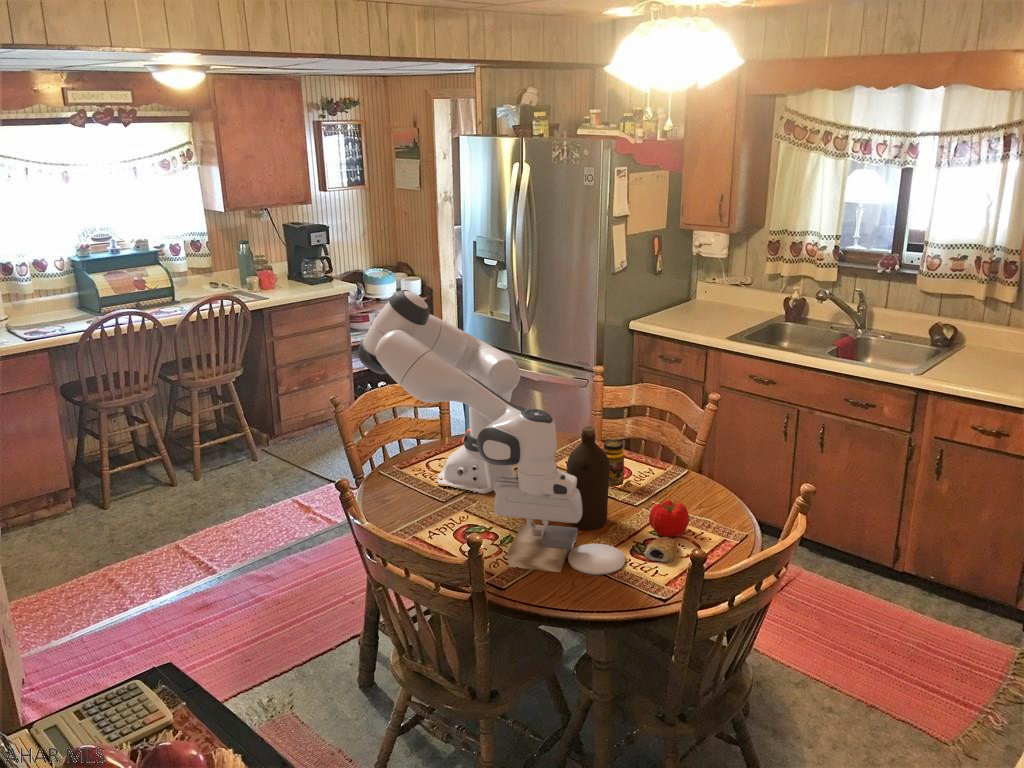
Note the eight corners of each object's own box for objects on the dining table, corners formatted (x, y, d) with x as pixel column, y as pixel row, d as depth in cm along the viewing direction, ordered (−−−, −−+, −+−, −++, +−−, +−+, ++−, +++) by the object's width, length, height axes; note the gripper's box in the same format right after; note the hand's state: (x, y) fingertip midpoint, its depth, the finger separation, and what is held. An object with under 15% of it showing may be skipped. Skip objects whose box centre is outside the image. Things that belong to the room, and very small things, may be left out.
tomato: (691, 528, 206) (692, 500, 204) (683, 544, 198) (684, 515, 196) (654, 522, 210) (654, 494, 208) (644, 537, 202) (645, 509, 200)
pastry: (656, 542, 200) (657, 527, 199) (684, 548, 197) (684, 534, 196) (642, 559, 192) (642, 544, 191) (670, 566, 189) (671, 551, 188)
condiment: (618, 490, 228) (619, 449, 225) (590, 484, 233) (590, 444, 229) (629, 481, 234) (630, 440, 231) (602, 475, 238) (602, 435, 235)
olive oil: (616, 527, 207) (617, 432, 200) (576, 534, 204) (576, 438, 197) (599, 509, 217) (599, 418, 210) (561, 516, 214) (560, 424, 207)
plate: (562, 571, 188) (562, 568, 187) (573, 544, 200) (573, 541, 199) (621, 577, 184) (621, 574, 184) (628, 549, 196) (628, 546, 196)
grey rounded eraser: (541, 546, 190) (541, 538, 190) (548, 532, 197) (548, 525, 196) (571, 549, 189) (571, 541, 188) (577, 535, 195) (577, 527, 195)
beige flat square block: (508, 566, 190) (508, 550, 189) (523, 538, 203) (522, 523, 202) (560, 572, 187) (560, 556, 186) (571, 543, 200) (571, 527, 199)
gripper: (489, 481, 189) (491, 536, 193) (578, 489, 184) (578, 545, 188) (497, 470, 195) (498, 524, 199) (583, 478, 190) (583, 533, 194)
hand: (538, 535), depth 193 cm, fingers closed
